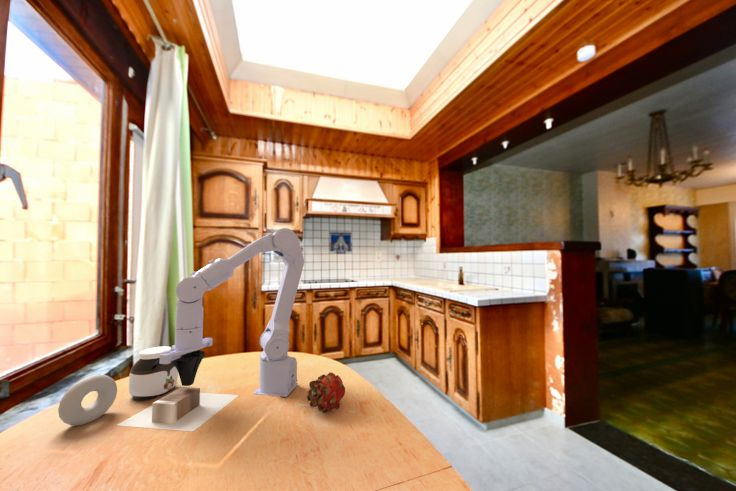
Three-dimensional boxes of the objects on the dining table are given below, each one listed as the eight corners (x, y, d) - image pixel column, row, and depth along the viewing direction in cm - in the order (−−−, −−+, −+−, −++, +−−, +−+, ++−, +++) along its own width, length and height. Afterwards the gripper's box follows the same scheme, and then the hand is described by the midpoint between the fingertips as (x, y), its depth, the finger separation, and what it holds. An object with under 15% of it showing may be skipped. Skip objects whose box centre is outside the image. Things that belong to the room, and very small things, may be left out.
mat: (239, 397, 74) (239, 395, 74) (193, 433, 58) (193, 431, 58) (176, 393, 76) (176, 391, 76) (115, 427, 60) (116, 425, 60)
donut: (62, 437, 57) (65, 386, 58) (52, 434, 58) (55, 384, 59) (120, 412, 66) (121, 368, 67) (110, 410, 68) (112, 367, 68)
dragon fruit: (312, 429, 62) (331, 410, 73) (343, 407, 61) (357, 391, 73) (293, 392, 64) (315, 379, 76) (323, 371, 64) (340, 361, 75)
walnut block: (200, 388, 69) (173, 404, 61) (199, 405, 69) (172, 423, 61) (181, 387, 70) (152, 403, 62) (180, 403, 69) (151, 422, 61)
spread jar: (143, 406, 69) (145, 357, 70) (113, 399, 73) (115, 353, 74) (188, 385, 81) (190, 344, 82) (160, 380, 84) (161, 340, 85)
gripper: (196, 320, 77) (194, 372, 76) (148, 334, 62) (145, 397, 62) (220, 321, 76) (219, 373, 75) (176, 334, 62) (174, 399, 61)
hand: (187, 384), depth 68 cm, fingers closed
